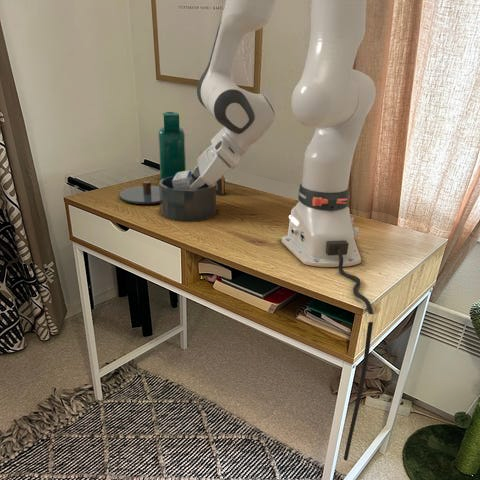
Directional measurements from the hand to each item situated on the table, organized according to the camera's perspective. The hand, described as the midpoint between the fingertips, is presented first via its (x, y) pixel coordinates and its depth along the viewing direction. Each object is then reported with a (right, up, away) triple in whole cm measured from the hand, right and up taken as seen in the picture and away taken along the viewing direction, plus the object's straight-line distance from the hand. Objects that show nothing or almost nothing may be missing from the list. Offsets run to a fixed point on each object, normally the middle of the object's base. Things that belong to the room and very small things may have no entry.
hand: (190, 184), depth 136 cm
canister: (-1, -7, +4) cm, 8 cm away
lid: (-15, +1, +14) cm, 20 cm away
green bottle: (-9, +10, +31) cm, 33 cm away
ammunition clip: (+4, +4, +22) cm, 23 cm away
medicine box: (-1, -5, +3) cm, 6 cm away
